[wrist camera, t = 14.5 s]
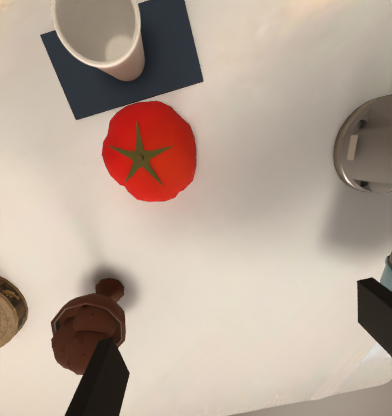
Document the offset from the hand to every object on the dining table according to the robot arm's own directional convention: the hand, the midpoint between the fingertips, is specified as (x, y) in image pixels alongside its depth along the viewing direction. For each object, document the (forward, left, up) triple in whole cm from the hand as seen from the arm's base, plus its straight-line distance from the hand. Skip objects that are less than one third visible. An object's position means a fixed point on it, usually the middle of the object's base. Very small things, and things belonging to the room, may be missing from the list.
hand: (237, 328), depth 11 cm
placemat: (+5, -23, -26) cm, 36 cm away
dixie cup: (+5, -23, -26) cm, 35 cm away
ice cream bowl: (+22, +12, -27) cm, 36 cm away
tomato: (+5, -10, -27) cm, 29 cm away
